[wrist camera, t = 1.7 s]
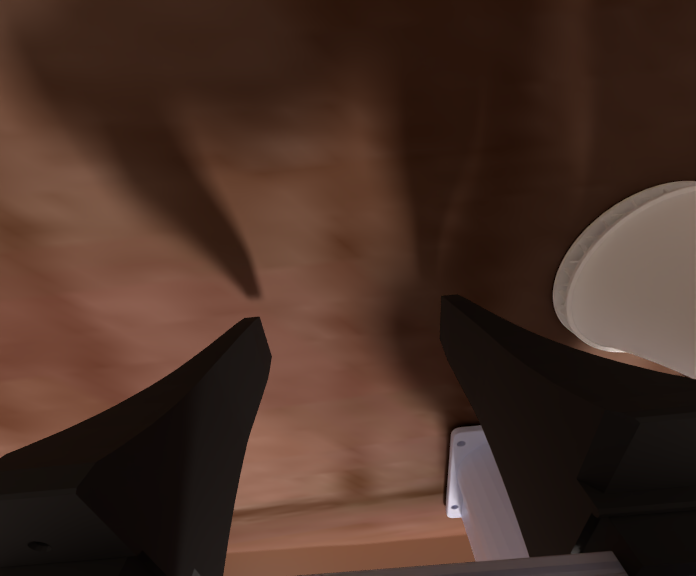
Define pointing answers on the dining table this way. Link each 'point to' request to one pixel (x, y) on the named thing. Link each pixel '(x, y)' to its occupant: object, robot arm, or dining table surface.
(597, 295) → the vase
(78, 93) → the dining table surface
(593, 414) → the robot arm
